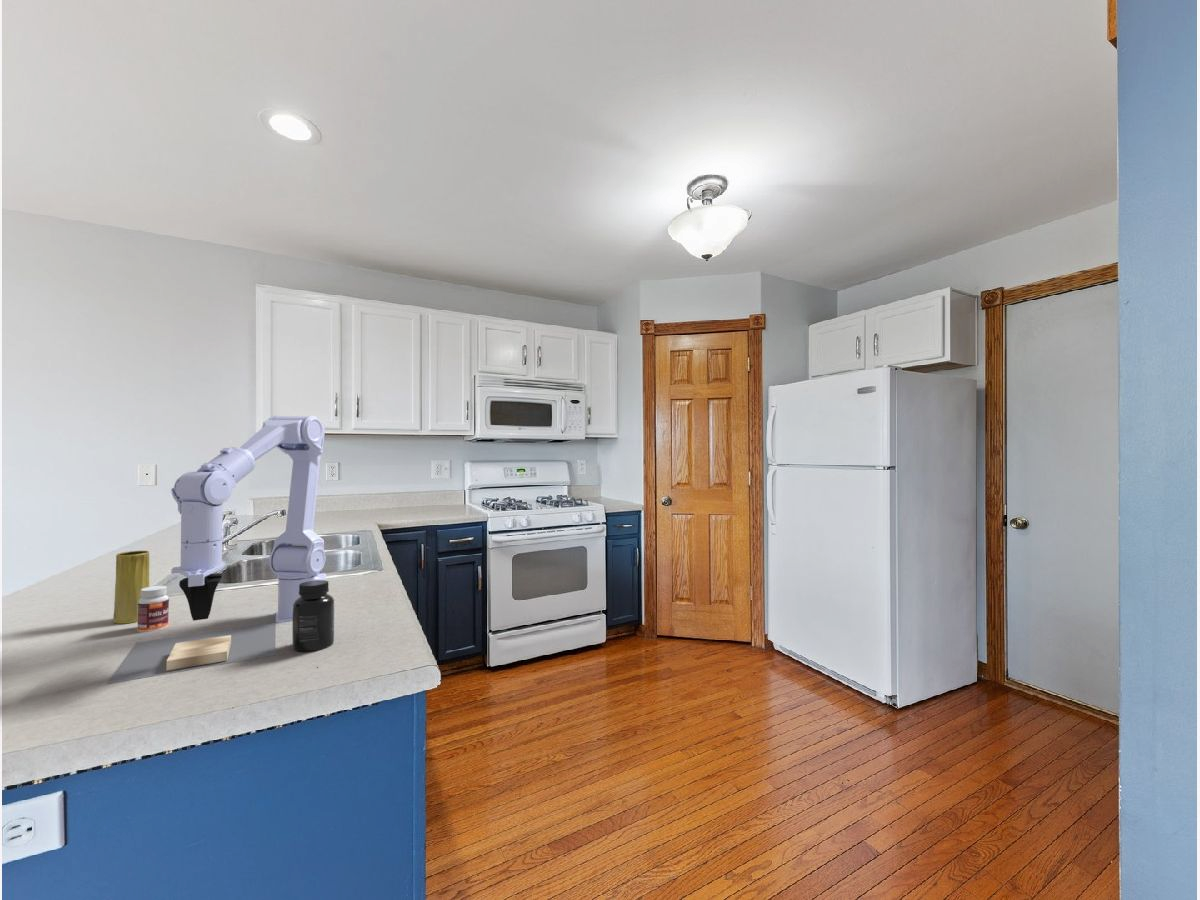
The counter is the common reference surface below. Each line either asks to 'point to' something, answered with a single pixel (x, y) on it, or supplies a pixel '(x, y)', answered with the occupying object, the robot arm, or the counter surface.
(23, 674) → the counter surface
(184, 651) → the tile
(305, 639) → the supplement bottle
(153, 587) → the pill bottle
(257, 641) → the mat
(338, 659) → the counter surface
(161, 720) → the counter surface
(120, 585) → the vase
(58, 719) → the counter surface
